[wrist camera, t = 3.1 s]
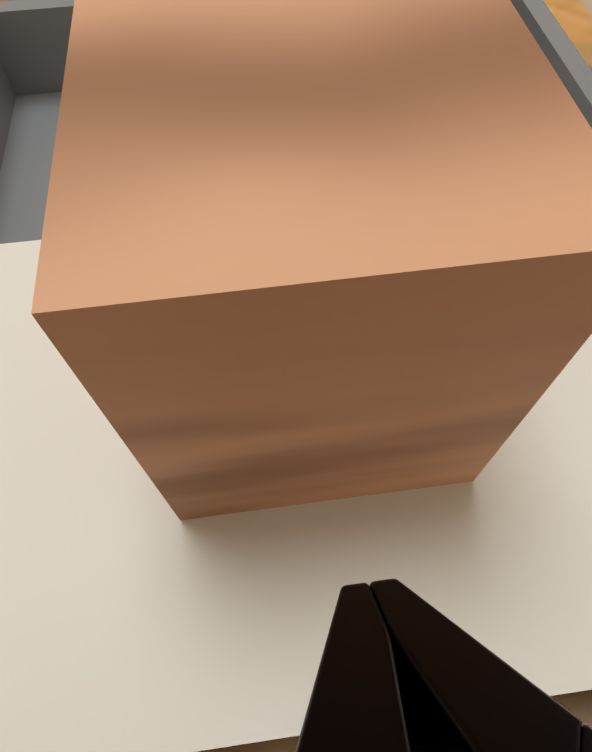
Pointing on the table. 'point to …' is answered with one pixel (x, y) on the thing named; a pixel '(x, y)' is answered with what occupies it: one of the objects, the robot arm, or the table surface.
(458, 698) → the robot arm
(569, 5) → the table surface
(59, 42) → the box
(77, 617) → the cream slab
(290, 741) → the table surface
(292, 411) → the block
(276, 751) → the table surface
